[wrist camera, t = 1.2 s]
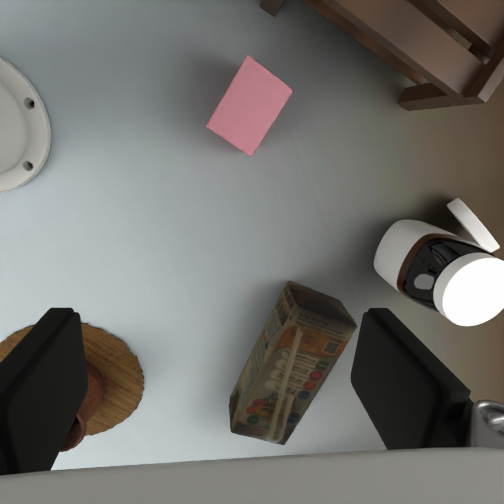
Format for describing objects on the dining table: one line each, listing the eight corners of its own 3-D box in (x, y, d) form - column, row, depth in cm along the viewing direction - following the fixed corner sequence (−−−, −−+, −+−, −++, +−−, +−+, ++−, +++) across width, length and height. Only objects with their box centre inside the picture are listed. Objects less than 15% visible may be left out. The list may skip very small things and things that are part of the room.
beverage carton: (224, 397, 45) (227, 439, 38) (285, 275, 39) (299, 302, 33) (277, 410, 46) (287, 452, 40) (341, 296, 41) (364, 324, 35)
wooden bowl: (108, 300, 38) (86, 336, 31) (166, 410, 44) (158, 459, 38) (-44, 348, 37) (-98, 395, 31) (37, 452, 44) (7, 508, 37)
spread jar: (357, 267, 40) (411, 318, 29) (398, 177, 37) (477, 197, 26) (437, 289, 43) (515, 344, 32) (482, 207, 39) (586, 237, 29)
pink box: (206, 127, 33) (205, 126, 27) (241, 66, 31) (247, 53, 26) (245, 153, 34) (251, 157, 29) (280, 96, 32) (293, 90, 27)
